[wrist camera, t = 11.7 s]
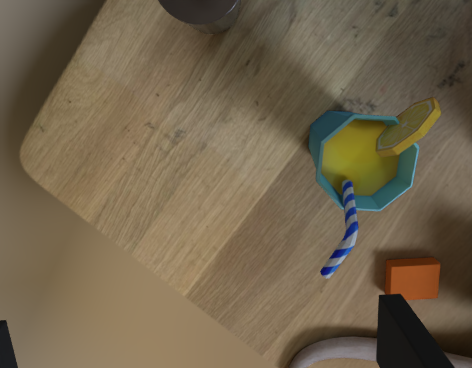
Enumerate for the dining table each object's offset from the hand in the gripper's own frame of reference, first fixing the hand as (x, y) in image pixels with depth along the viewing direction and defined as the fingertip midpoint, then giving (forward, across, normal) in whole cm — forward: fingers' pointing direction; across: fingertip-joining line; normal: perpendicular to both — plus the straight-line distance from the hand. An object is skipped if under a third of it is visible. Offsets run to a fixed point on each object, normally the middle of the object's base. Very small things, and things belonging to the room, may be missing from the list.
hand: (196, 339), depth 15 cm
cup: (+28, +11, 0) cm, 30 cm away
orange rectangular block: (+28, +20, -14) cm, 37 cm away
